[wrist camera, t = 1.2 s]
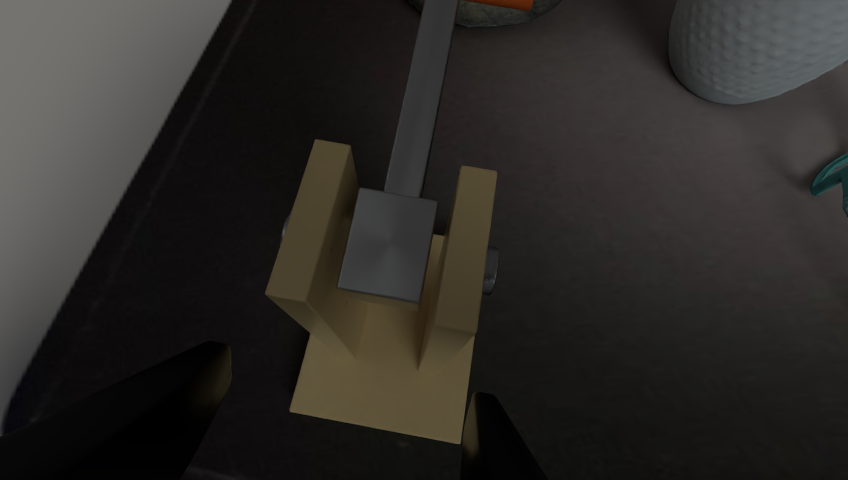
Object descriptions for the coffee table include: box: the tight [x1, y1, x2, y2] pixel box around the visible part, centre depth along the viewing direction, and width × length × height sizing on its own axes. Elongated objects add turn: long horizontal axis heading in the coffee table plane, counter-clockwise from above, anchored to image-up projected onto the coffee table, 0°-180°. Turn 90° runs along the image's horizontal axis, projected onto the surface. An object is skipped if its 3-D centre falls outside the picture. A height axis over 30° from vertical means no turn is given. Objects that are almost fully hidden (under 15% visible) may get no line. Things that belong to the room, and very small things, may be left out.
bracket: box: [265, 139, 499, 444], centre depth 17 cm, size 10×8×13 cm
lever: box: [336, 0, 533, 311], centre depth 13 cm, size 12×6×2 cm, turn 170°
